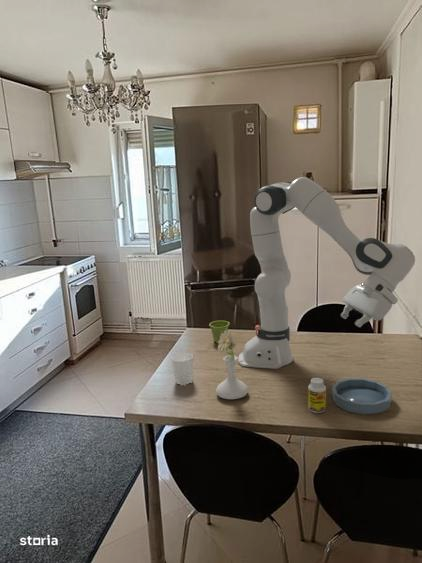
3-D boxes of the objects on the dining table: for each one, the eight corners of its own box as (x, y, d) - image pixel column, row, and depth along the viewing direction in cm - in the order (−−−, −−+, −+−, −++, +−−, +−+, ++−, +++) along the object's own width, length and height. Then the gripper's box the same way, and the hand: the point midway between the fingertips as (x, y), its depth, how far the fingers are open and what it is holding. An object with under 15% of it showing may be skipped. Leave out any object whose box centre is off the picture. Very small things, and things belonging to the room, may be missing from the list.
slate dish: (337, 414, 136) (337, 404, 136) (329, 387, 154) (329, 378, 153) (397, 414, 134) (398, 404, 133) (381, 387, 152) (382, 378, 151)
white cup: (185, 375, 171) (183, 351, 168) (198, 381, 165) (197, 356, 163) (169, 382, 165) (167, 357, 163) (183, 388, 160) (181, 363, 157)
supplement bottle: (307, 412, 138) (307, 383, 136) (309, 404, 143) (308, 375, 141) (325, 414, 137) (325, 385, 134) (326, 406, 142) (326, 377, 139)
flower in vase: (216, 387, 159) (212, 322, 153) (247, 386, 158) (244, 321, 153) (215, 405, 146) (211, 335, 140) (249, 404, 146) (246, 334, 140)
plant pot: (223, 346, 198) (222, 328, 196) (206, 343, 203) (205, 325, 201) (234, 339, 206) (233, 322, 204) (217, 336, 211) (216, 319, 209)
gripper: (354, 277, 151) (329, 307, 152) (388, 289, 132) (358, 324, 132) (366, 287, 153) (341, 318, 154) (401, 302, 133) (372, 336, 134)
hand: (349, 321), depth 143 cm, fingers open, 8 cm apart
